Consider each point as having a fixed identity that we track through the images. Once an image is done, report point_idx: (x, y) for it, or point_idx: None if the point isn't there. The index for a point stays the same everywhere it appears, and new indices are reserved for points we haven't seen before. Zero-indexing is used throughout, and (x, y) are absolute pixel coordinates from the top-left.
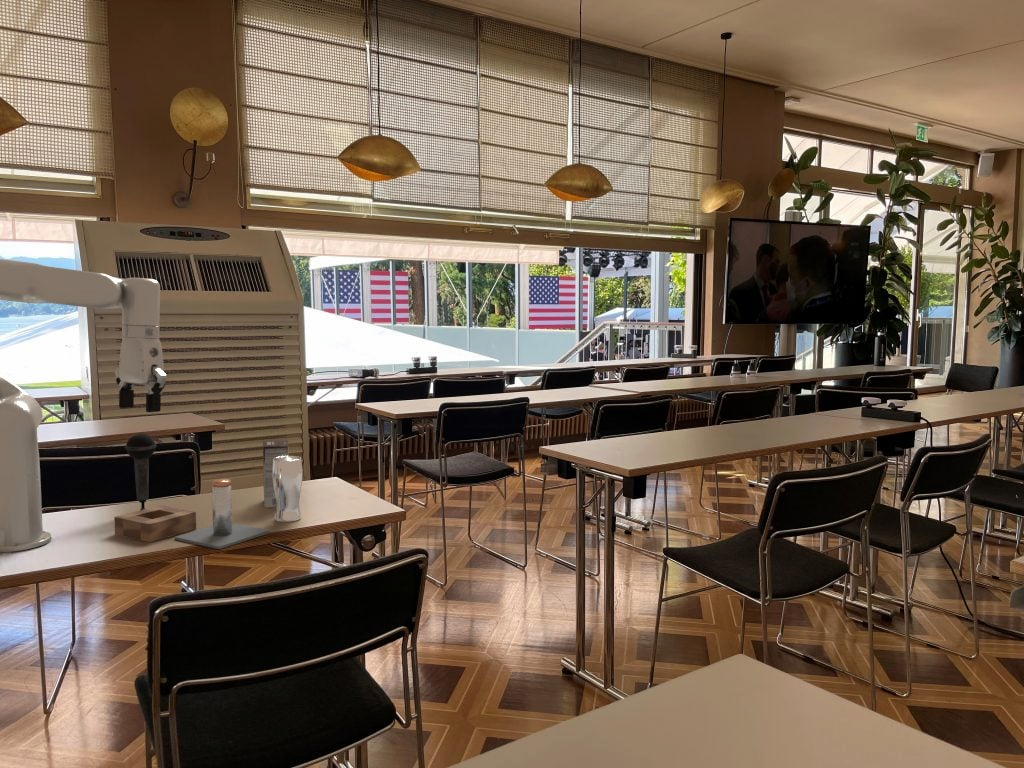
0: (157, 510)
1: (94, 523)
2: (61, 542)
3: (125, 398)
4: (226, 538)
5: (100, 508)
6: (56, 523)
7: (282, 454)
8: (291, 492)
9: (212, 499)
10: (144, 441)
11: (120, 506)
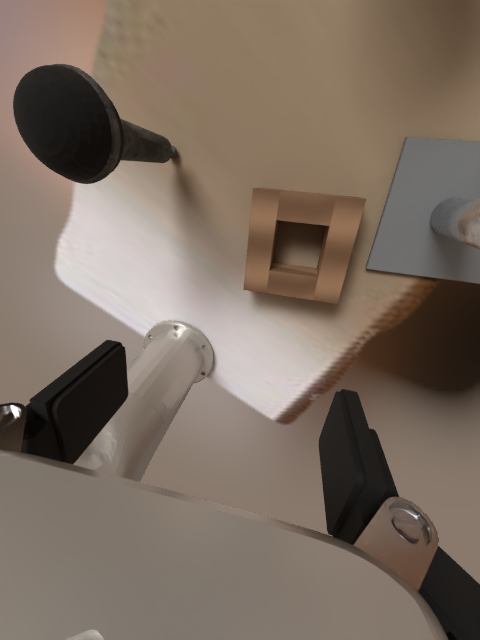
0: (275, 222)
1: (168, 246)
2: (217, 331)
3: (98, 413)
4: None
5: None
6: (124, 269)
7: None
8: None
9: (472, 245)
10: (94, 143)
11: None
